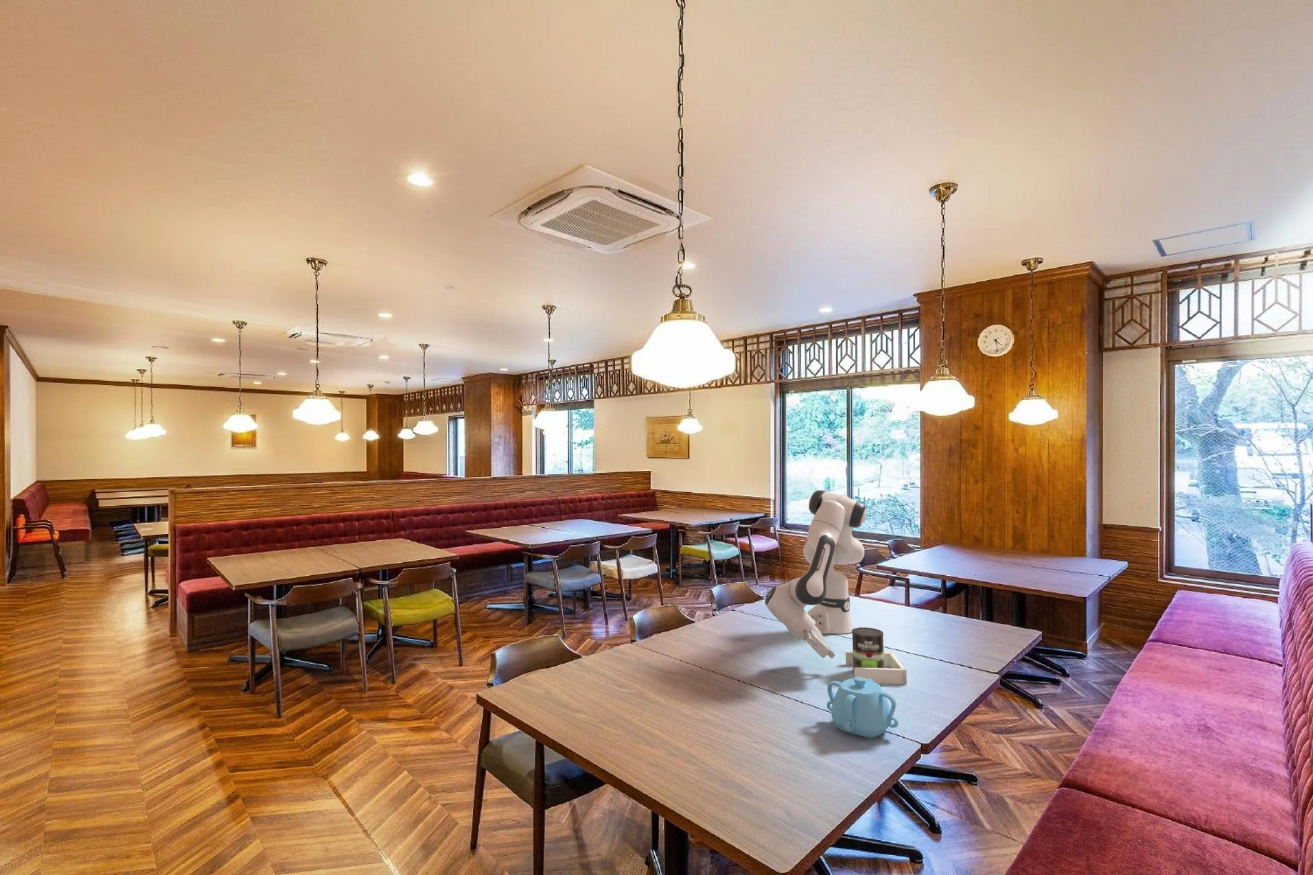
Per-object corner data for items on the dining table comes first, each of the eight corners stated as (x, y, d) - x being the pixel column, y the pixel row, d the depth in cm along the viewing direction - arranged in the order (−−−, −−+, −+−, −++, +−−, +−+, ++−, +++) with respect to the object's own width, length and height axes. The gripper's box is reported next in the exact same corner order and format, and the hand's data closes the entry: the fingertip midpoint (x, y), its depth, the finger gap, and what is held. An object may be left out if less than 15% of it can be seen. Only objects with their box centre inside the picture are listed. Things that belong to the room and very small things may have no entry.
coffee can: (886, 679, 190) (884, 636, 191) (853, 676, 193) (852, 634, 194) (883, 668, 200) (882, 627, 201) (852, 666, 203) (851, 626, 204)
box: (855, 682, 189) (854, 668, 189) (845, 663, 206) (845, 651, 206) (906, 684, 186) (906, 670, 186) (893, 665, 203) (892, 652, 204)
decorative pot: (824, 715, 165) (822, 668, 166) (880, 714, 165) (877, 666, 165) (840, 743, 149) (838, 690, 149) (903, 742, 148) (900, 689, 149)
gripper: (813, 628, 189) (844, 659, 187) (805, 612, 210) (834, 640, 208) (800, 642, 190) (831, 672, 188) (793, 624, 210) (822, 652, 208)
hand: (832, 655), depth 198 cm, fingers closed
